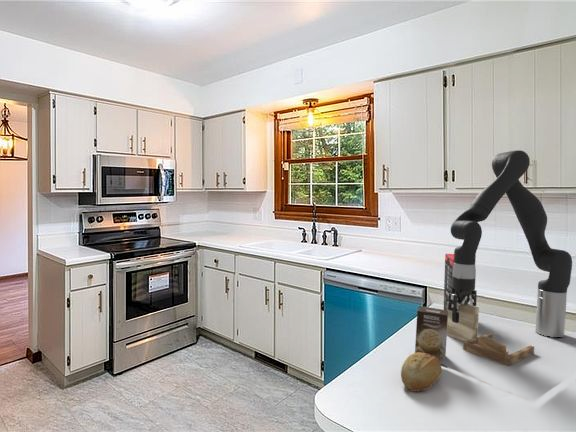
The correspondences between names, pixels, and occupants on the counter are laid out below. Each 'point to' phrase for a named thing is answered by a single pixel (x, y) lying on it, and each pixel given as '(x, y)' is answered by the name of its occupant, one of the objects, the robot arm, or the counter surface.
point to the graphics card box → (448, 278)
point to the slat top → (492, 344)
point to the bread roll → (420, 371)
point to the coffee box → (432, 332)
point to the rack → (497, 356)
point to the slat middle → (491, 350)
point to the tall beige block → (464, 323)
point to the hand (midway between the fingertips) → (462, 320)
